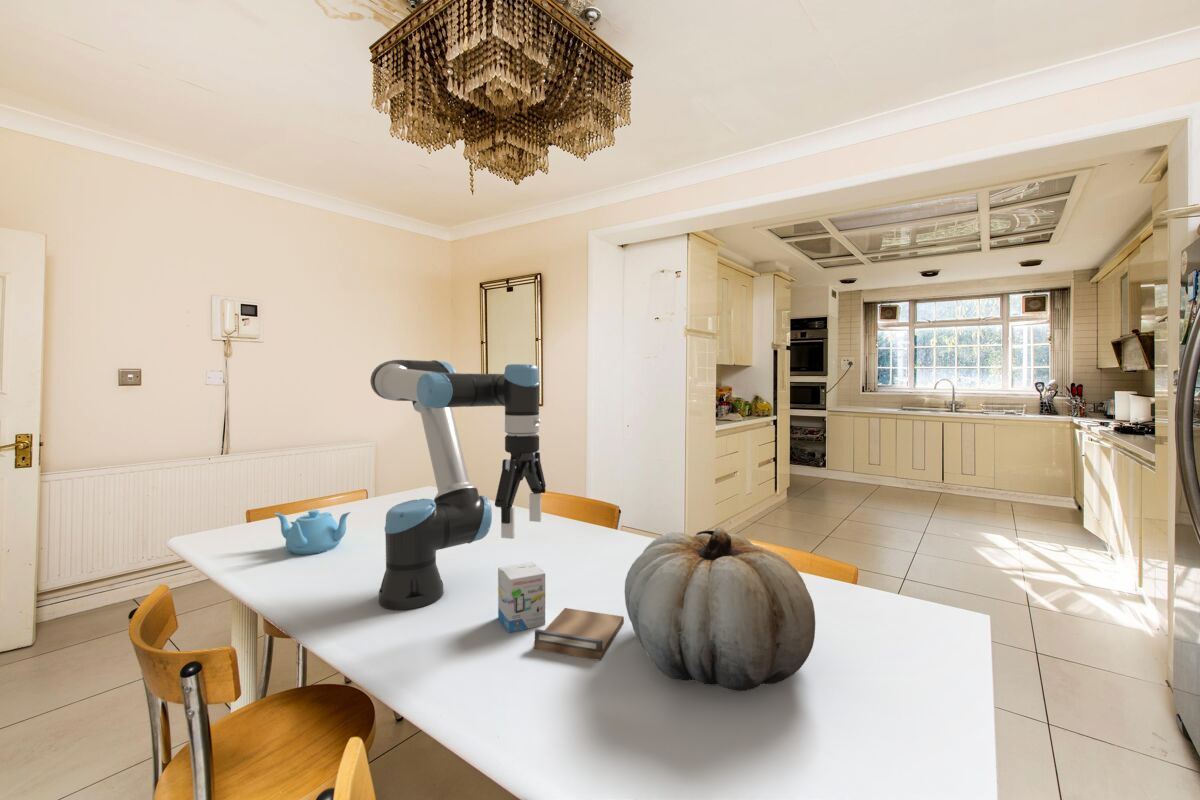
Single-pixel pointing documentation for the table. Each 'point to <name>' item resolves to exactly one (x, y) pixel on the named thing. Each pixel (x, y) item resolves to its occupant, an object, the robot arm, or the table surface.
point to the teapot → (312, 532)
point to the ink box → (521, 596)
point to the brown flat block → (579, 633)
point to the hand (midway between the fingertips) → (522, 529)
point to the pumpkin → (719, 610)
